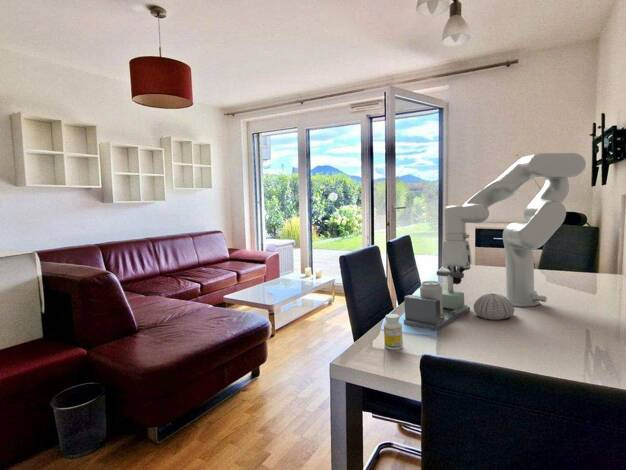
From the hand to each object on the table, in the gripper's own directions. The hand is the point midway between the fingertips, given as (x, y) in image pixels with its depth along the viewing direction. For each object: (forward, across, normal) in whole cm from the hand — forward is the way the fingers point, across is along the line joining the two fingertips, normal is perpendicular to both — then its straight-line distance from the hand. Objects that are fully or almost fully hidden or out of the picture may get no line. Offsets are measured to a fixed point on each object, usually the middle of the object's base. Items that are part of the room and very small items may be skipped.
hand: (456, 283), depth 144 cm
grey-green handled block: (+7, 0, +7) cm, 10 cm away
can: (+8, 0, +20) cm, 21 cm away
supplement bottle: (+10, -4, +48) cm, 49 cm away
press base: (+9, 0, +16) cm, 18 cm away
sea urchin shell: (+10, -15, +4) cm, 18 cm away
